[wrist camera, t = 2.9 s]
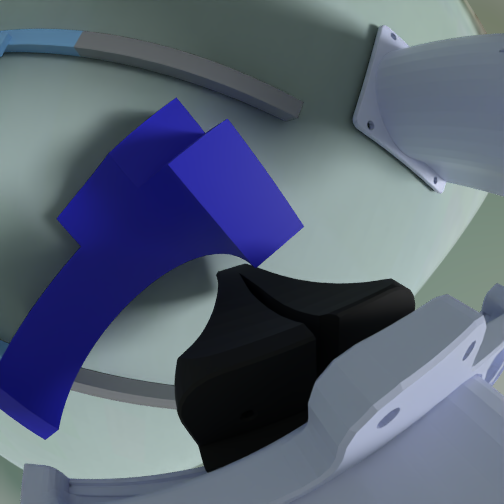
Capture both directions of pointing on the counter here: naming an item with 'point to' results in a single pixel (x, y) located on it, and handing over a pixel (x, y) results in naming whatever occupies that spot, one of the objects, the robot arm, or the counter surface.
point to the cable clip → (139, 246)
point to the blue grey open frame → (167, 64)
